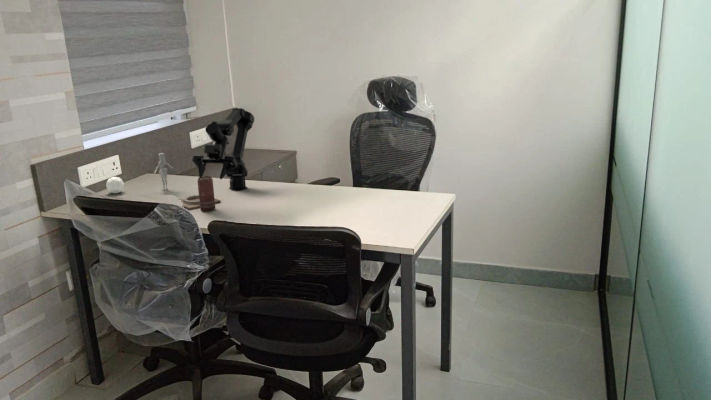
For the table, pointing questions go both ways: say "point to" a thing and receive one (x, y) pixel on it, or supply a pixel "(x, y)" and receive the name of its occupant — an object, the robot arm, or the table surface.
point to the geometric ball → (115, 185)
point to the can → (206, 194)
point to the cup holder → (193, 202)
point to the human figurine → (162, 170)
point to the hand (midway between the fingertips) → (210, 178)
